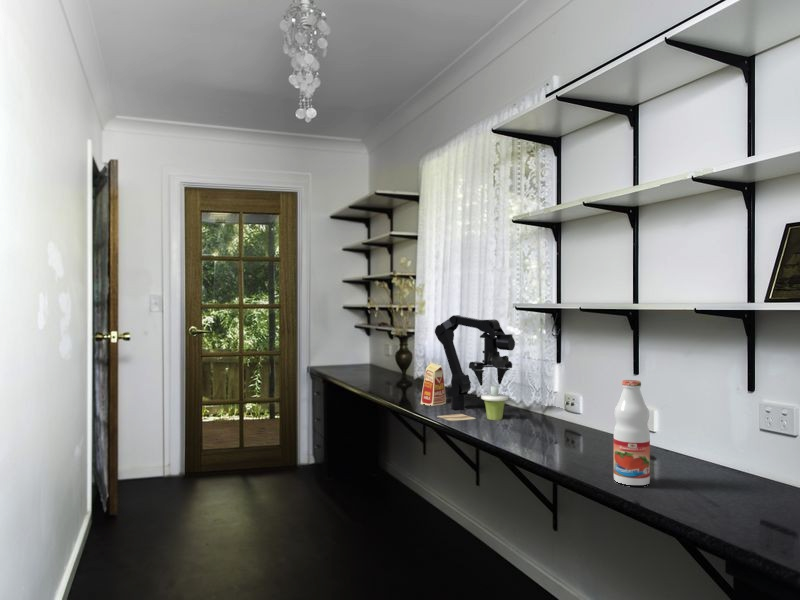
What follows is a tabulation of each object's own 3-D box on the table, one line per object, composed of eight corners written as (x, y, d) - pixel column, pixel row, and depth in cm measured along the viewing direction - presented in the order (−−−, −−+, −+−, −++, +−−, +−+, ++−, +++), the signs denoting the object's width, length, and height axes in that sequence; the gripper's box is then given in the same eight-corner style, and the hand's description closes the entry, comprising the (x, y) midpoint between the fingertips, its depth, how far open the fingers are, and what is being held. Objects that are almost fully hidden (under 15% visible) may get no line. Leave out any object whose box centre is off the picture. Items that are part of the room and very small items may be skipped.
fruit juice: (650, 479, 177) (650, 379, 176) (649, 489, 168) (649, 384, 168) (614, 476, 180) (614, 378, 180) (612, 485, 172) (612, 382, 172)
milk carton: (420, 404, 299) (420, 361, 299) (434, 401, 306) (433, 360, 305) (434, 406, 293) (434, 363, 292) (448, 404, 299) (447, 361, 299)
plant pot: (507, 422, 257) (507, 400, 256) (484, 422, 257) (484, 400, 257) (504, 417, 266) (504, 396, 266) (482, 417, 266) (481, 396, 266)
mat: (436, 417, 266) (436, 416, 266) (461, 414, 272) (461, 413, 272) (451, 422, 256) (451, 421, 256) (476, 419, 261) (476, 418, 261)
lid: (476, 397, 264) (476, 385, 264) (498, 395, 268) (498, 383, 268) (490, 401, 254) (490, 388, 254) (513, 399, 258) (513, 387, 258)
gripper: (482, 351, 261) (481, 389, 261) (519, 349, 269) (519, 386, 269) (468, 348, 271) (467, 385, 272) (505, 347, 279) (504, 382, 279)
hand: (490, 384), depth 273 cm, fingers open, 9 cm apart
